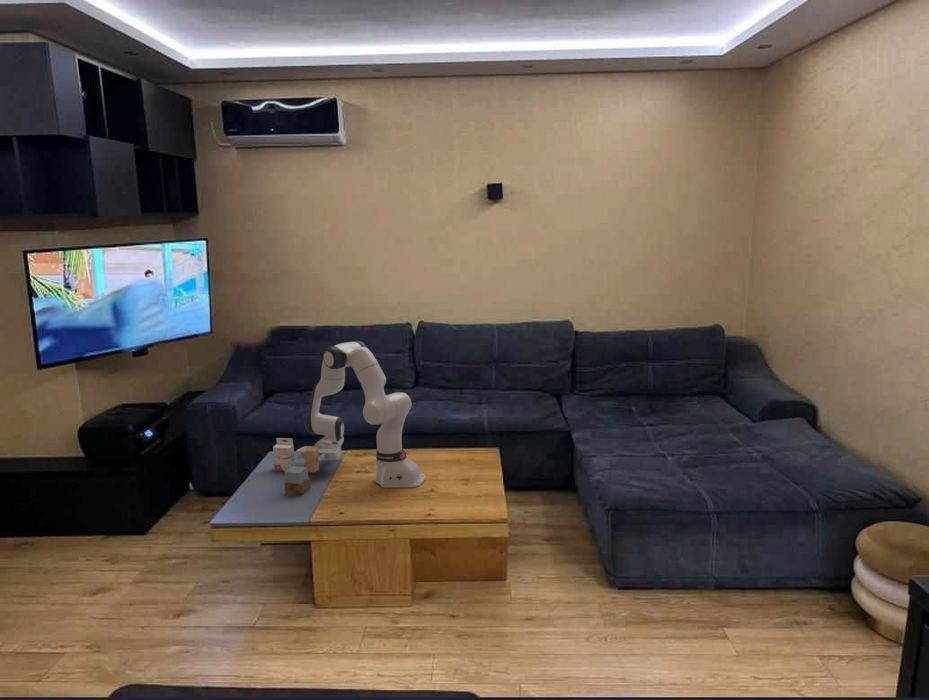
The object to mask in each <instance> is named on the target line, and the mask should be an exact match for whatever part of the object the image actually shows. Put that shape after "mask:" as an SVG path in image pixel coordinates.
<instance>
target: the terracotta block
mask: <svg viewBox="0 0 929 700" xmlns="http://www.w3.org/2000/svg"><path fill="white" fill-rule="evenodd" d="M304 452H305V460H304V461H305V467H307V468H308V473H316V472H317V471H319V470H320V461H316V457H317V456H318V448H310V447H309V448H307V449H306V450H305V451H304Z"/></svg>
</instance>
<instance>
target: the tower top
mask: <svg viewBox="0 0 929 700" xmlns="http://www.w3.org/2000/svg"><path fill="white" fill-rule="evenodd" d="M308 477H309V472H308V468H307V467H306V466H297V465H295V466H292V467H291V468H290V469H288V470H287V471H284V481H285V483H292V484H301V483H302V482H304V481H305V480H306V479H308ZM285 483H284V484H285Z"/></svg>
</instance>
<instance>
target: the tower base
mask: <svg viewBox="0 0 929 700" xmlns="http://www.w3.org/2000/svg"><path fill="white" fill-rule="evenodd" d="M311 486H312V485H311V477H310V476H308V479H306V480H305V481H304V482H302V483H301V484H292V483H284V491H285V492H284V493H285V495H293V496H294V495H296V496H303V495H305V494H306V493H307V492H308V491H309V490H310V489H311V488H312V487H311ZM304 493H305V494H304Z"/></svg>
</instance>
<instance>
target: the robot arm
mask: <svg viewBox="0 0 929 700" xmlns="http://www.w3.org/2000/svg"><path fill="white" fill-rule="evenodd" d="M346 367H347V368H348V367H351V368H352V369H353V371H354V373H355V375H356V378H357V379H358V381H359V383H360V385H361V387H362V390H363V393H364V398H365V399H364V401H365V403H364V406H363V408H362V417H363V418H364V420H365V421H366V422H367V424H370V425H381V426H380V427H379V429H378V430H377V432H376V450H375V452H376V453H375V458H376V463H377V464H376V472H375V478H374V483H376V484H377V485H380V486H381V488H386V489H387V488H388V489H389V488H416V487H420V486H421V485H423V483H424V482H425V481H426V476H425V474H424V473H422V472H421V471H420V470H421V469H420V468H419V464H417V463H416V462H414V461H413V460H411V459H410V458H409V457H407V453H408V450H407V449H406V450H404V448H403V443H402V441H403V439H402V438H403V437H402V434H403V428H404V424H405V421H406V417H407V416H408V413H409V412H410V410H411V408H412V399H411V397H410V396H409V395H408V394H407V393H406V392H403V391H401V392H399V391H398V392H393V393H390V394H386V393H385V385H386V383H387V377H386V376H385V373H384V371H383V369H382V367H381V366H380V363H379V362H378V360H377V359H376V357H375V356H374V354H373V353H372V351H371V350H370V349H369V348H368V347H367V345H366V343H364V342H363V341H361V340H352V341H348V342H347V341H346V342H341V343H338V344H335V345H331V346H329V347H326V349H324V350H323V353H322V363H321V372H320V379H319V382H317V383H316V384H315V385H314V387H313V389H312V393H311V397H310V402H309V408H308V411H307V412H308V413H307V415H306V416H307V417H306V419H305V423H304V424H305V425H304V426H305V429H306V431H307V432H308V433H309V434H312V435H322V436H323V437H322V438H321V439H319V441H317V442H316V443H315V444H314V446H311V445H308V446H307V445H306V446H302V447H300V448H298V449H297V450H296V451H295V454H296V455H295V456H296V458H297V459H303V461H305V452H304V451H305V450H306V449H307V448H309V447H310V448H318V456H317V457H316V461H319V462H320V461H322V460H327V461H328V460H329V461H335V460H336V461H337V460H339V459H340V458H341V456H342V445H343V443H344V442H345V441H344V440H345V439H344V438H345V437H344V436H345V432H346V426H345V422H344V420H343V419H342V417H339V416H333V415H328V414H322V413H320V407H321V402H322V398H323V397H326V396H331V395H335V394H337V393H339V392H340V391H341V390H343V388H344V386H345V381H346Z"/></svg>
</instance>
